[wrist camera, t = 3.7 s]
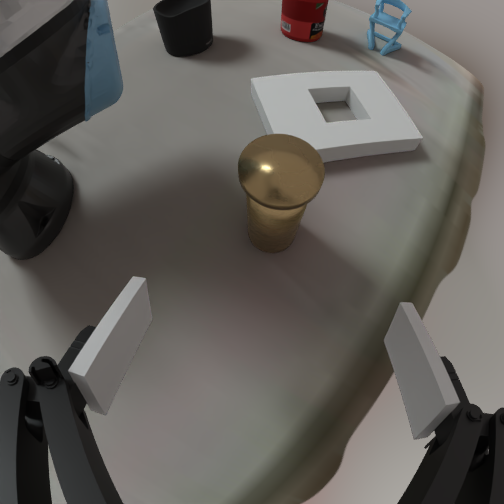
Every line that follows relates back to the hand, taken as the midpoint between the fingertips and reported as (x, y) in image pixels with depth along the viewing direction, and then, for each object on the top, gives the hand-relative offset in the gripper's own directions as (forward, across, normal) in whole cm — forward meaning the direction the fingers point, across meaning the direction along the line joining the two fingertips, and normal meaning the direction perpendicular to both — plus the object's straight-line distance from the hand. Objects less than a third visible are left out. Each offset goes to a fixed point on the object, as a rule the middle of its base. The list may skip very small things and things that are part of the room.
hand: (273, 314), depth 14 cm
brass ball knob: (+17, 0, -3) cm, 18 cm away
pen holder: (+42, -17, +22) cm, 51 cm away
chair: (+48, +19, +28) cm, 59 cm away
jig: (+30, +7, +10) cm, 32 cm away
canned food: (+47, +3, +26) cm, 54 cm away
